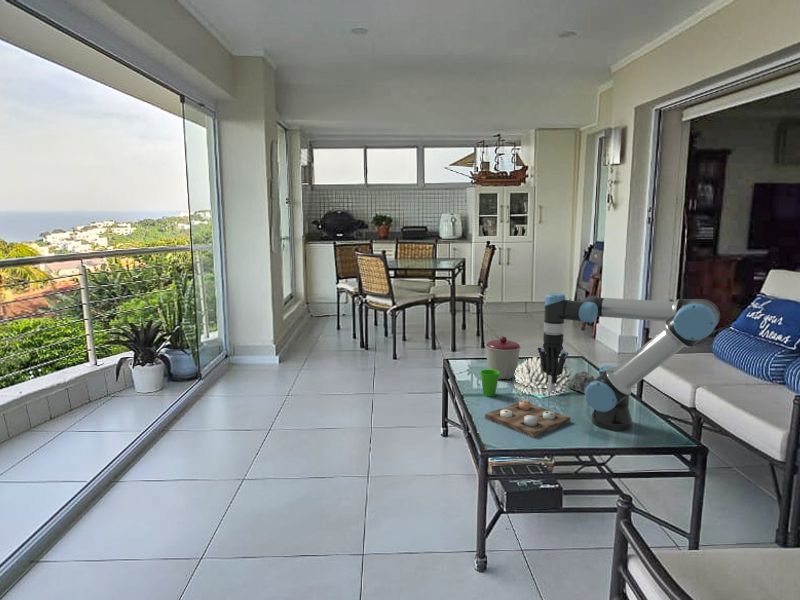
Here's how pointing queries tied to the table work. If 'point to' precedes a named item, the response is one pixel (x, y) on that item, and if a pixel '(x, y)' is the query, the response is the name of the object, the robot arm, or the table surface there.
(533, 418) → the button blank
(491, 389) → the cup
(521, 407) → the button three
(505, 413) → the button one
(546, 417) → the button two
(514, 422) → the panel
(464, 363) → the table surface
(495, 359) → the canister
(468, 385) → the table surface
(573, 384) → the mineral rock
